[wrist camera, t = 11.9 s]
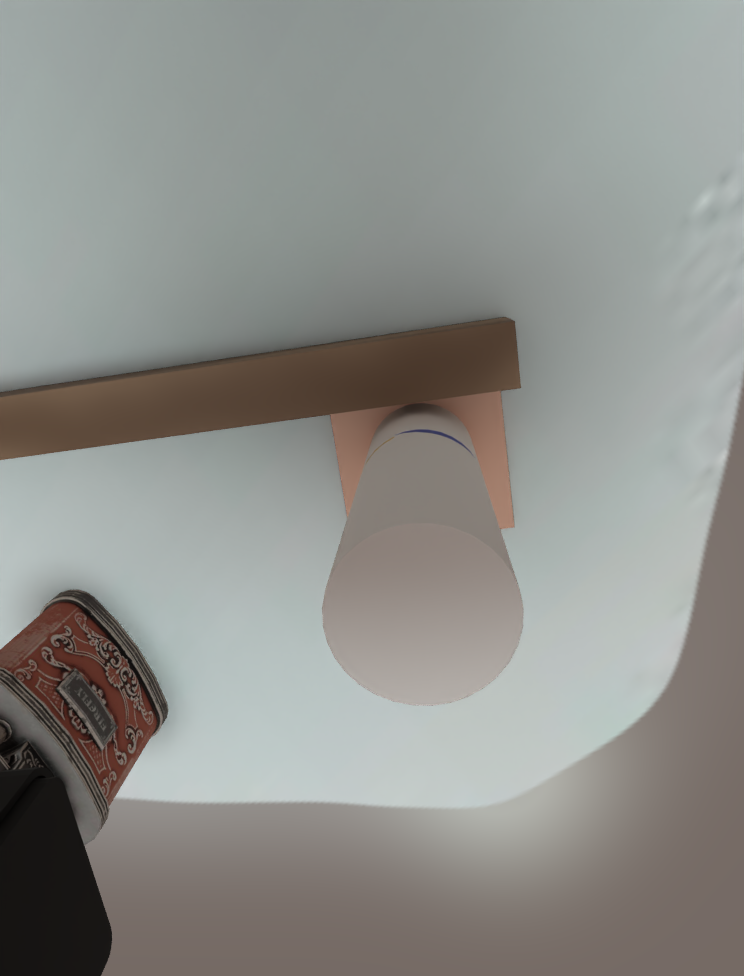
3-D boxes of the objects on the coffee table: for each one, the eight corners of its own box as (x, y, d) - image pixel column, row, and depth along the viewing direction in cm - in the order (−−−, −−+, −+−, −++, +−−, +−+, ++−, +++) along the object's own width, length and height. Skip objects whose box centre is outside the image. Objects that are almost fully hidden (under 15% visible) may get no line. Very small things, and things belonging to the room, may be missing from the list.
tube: (400, 520, 30) (382, 734, 16) (351, 433, 29) (285, 578, 15) (491, 474, 30) (557, 657, 15) (443, 384, 29) (466, 487, 14)
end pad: (330, 409, 30) (329, 411, 29) (499, 386, 29) (499, 387, 29) (353, 543, 31) (352, 546, 31) (513, 524, 30) (514, 527, 30)
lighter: (184, 714, 34) (91, 883, 25) (127, 741, 35) (15, 914, 25) (89, 577, 33) (-49, 700, 23) (31, 607, 33) (-127, 740, 24)
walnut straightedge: (-55, 400, 31) (-105, 412, 28) (505, 316, 28) (514, 320, 25) (-39, 454, 31) (-85, 471, 28) (510, 377, 29) (520, 387, 26)
